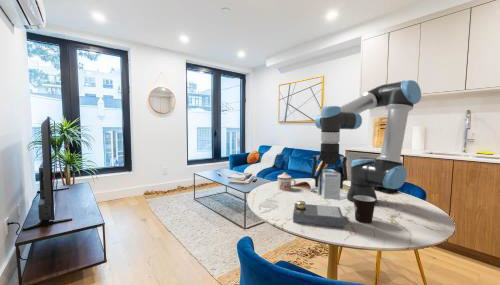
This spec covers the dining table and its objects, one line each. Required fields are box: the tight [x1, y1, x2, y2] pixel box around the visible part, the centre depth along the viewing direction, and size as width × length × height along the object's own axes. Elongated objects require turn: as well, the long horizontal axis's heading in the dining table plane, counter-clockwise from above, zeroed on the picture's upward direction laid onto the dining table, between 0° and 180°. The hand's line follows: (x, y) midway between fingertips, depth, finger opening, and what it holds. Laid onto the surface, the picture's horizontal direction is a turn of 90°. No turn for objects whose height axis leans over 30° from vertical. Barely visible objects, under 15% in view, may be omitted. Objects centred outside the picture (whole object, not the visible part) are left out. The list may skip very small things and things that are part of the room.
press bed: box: [292, 202, 345, 229], centre depth 100 cm, size 20×14×4 cm
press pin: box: [296, 200, 306, 210], centre depth 102 cm, size 4×4×4 cm
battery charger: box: [374, 185, 399, 195], centre depth 147 cm, size 13×10×4 cm
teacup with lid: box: [277, 172, 297, 191], centre depth 147 cm, size 12×9×12 cm
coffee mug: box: [353, 195, 376, 225], centre depth 100 cm, size 12×9×10 cm
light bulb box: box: [319, 168, 342, 200], centre depth 98 cm, size 11×7×11 cm, turn 177°
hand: (328, 195), depth 99 cm, fingers closed on light bulb box, 7 cm apart
